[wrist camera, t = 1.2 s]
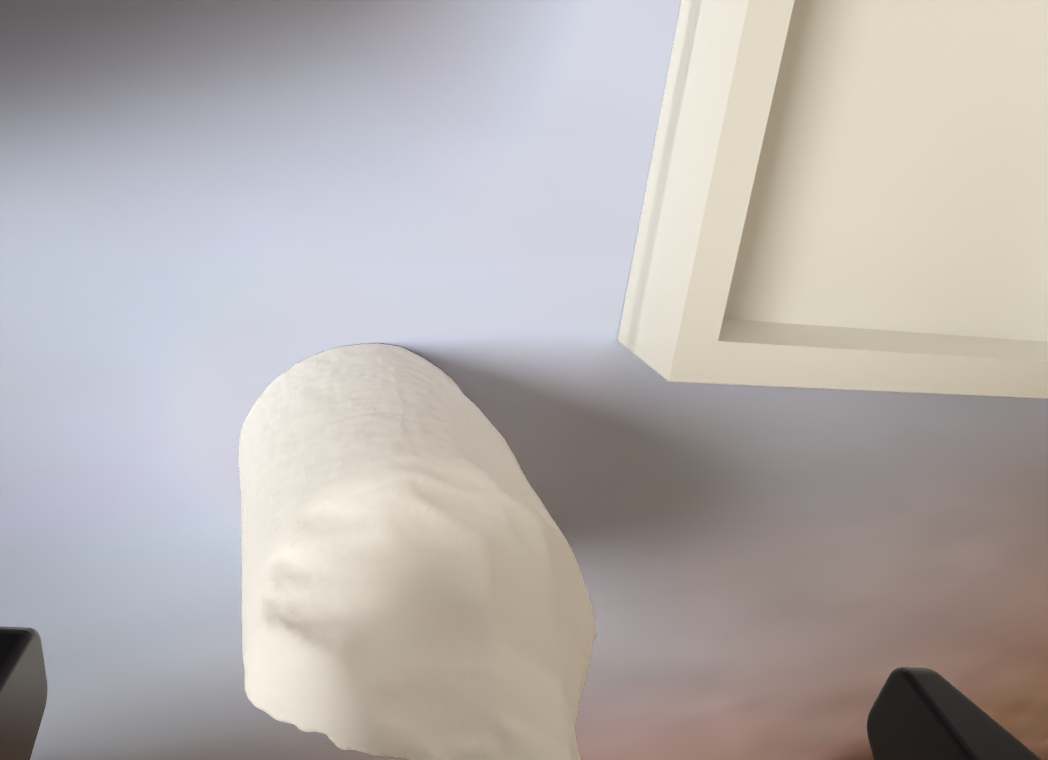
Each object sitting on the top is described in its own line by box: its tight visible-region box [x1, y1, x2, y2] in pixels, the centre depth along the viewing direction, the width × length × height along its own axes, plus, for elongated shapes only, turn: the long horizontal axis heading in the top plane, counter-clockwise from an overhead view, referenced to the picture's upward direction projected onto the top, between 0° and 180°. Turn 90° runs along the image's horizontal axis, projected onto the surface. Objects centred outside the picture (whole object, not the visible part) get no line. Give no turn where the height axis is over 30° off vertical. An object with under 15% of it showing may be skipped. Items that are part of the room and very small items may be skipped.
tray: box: [618, 0, 1048, 399], centre depth 22 cm, size 14×14×3 cm
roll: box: [239, 343, 597, 760], centre depth 17 cm, size 6×12×6 cm
